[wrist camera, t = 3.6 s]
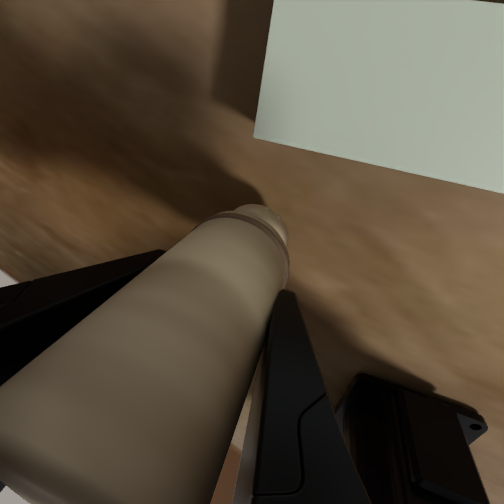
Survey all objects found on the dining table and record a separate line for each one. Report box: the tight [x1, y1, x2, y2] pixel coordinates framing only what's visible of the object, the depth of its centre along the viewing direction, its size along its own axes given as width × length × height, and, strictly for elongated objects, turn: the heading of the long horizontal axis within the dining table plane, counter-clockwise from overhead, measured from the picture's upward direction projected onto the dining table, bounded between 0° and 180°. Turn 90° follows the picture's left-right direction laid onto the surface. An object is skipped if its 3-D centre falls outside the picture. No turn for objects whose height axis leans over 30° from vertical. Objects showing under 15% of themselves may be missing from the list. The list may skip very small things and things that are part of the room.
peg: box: [0, 204, 290, 504], centre depth 7 cm, size 4×4×9 cm
